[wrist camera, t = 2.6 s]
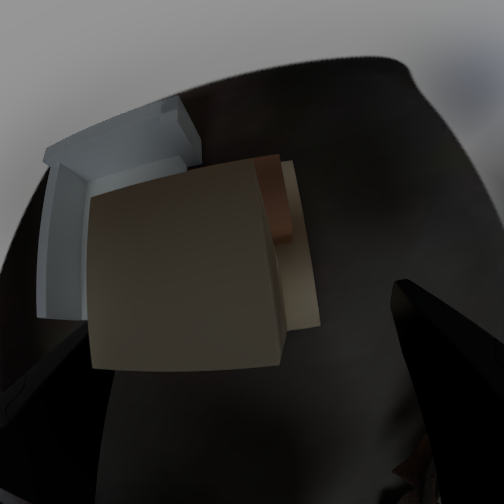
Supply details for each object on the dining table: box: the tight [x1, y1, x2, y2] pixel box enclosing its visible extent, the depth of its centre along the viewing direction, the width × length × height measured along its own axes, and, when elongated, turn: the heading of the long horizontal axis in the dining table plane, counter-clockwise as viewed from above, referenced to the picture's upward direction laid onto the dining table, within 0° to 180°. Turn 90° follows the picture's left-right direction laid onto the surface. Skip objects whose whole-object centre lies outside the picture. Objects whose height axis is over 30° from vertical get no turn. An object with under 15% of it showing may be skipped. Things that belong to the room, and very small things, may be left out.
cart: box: [86, 154, 321, 372], centre depth 11 cm, size 9×6×13 cm, turn 7°
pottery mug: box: [392, 433, 439, 504], centre depth 9 cm, size 12×10×8 cm
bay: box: [36, 95, 202, 320], centre depth 16 cm, size 12×11×5 cm
